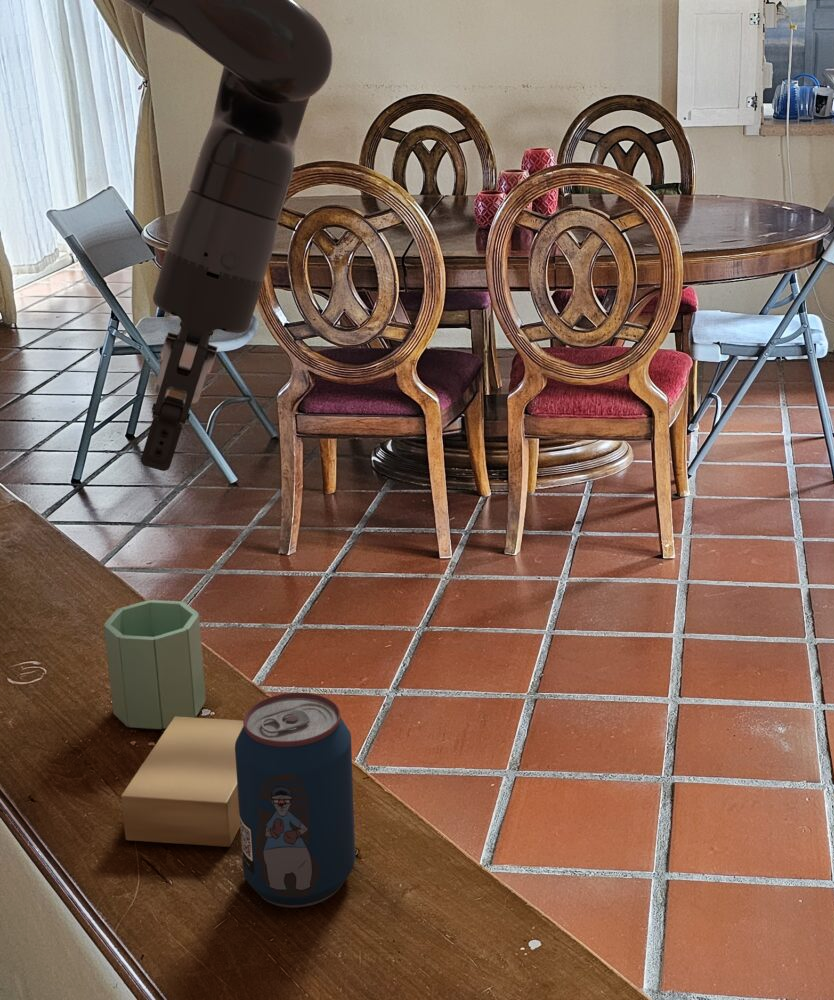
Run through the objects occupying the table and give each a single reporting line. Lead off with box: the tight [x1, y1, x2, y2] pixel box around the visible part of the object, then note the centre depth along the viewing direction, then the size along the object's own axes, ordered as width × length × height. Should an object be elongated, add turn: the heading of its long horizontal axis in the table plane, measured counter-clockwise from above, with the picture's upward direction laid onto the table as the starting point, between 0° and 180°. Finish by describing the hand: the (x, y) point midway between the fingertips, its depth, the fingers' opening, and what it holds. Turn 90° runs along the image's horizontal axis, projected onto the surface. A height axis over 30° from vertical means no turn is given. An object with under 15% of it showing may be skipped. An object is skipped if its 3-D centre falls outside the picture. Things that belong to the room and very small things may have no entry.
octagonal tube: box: [103, 599, 207, 733], centre depth 99 cm, size 8×6×6 cm
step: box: [120, 716, 244, 848], centre depth 89 cm, size 10×7×4 cm
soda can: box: [235, 691, 356, 909], centre depth 81 cm, size 7×7×12 cm
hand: (158, 454), depth 104 cm, fingers open, 8 cm apart
